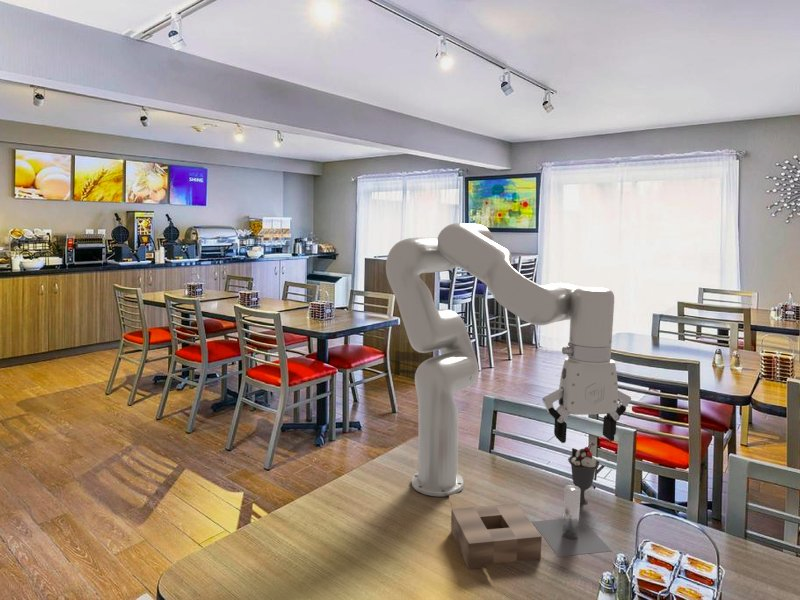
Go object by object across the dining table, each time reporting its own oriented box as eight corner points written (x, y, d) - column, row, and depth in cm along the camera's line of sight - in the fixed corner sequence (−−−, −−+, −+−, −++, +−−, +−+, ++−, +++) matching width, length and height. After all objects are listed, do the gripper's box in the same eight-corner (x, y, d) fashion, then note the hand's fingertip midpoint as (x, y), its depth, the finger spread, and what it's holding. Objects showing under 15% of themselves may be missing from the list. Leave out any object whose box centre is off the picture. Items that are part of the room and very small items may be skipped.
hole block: (451, 531, 107) (451, 508, 107) (515, 525, 110) (516, 503, 109) (468, 569, 96) (469, 543, 95) (540, 561, 98) (541, 536, 97)
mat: (531, 524, 110) (531, 521, 110) (580, 519, 112) (580, 517, 112) (558, 559, 98) (558, 556, 98) (611, 553, 100) (612, 550, 100)
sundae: (599, 513, 115) (603, 447, 113) (567, 509, 116) (570, 445, 114) (594, 498, 121) (598, 436, 119) (564, 495, 122) (567, 433, 120)
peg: (559, 532, 106) (561, 485, 105) (573, 530, 107) (575, 484, 106) (566, 540, 103) (569, 492, 102) (580, 539, 104) (583, 491, 103)
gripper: (553, 358, 94) (549, 449, 97) (643, 356, 96) (637, 445, 99) (538, 349, 102) (534, 433, 104) (622, 347, 104) (616, 430, 106)
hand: (584, 439), depth 101 cm, fingers open, 9 cm apart
